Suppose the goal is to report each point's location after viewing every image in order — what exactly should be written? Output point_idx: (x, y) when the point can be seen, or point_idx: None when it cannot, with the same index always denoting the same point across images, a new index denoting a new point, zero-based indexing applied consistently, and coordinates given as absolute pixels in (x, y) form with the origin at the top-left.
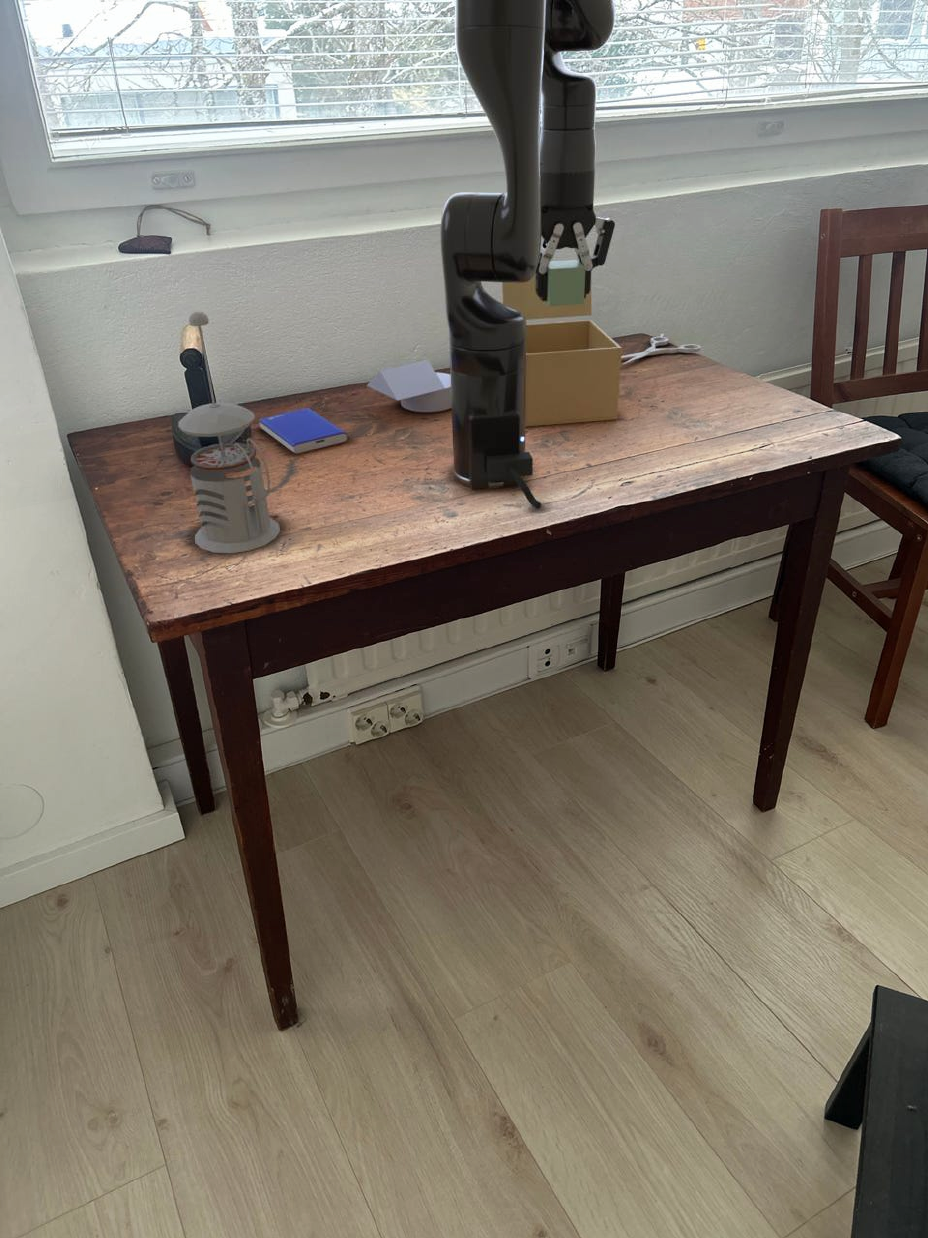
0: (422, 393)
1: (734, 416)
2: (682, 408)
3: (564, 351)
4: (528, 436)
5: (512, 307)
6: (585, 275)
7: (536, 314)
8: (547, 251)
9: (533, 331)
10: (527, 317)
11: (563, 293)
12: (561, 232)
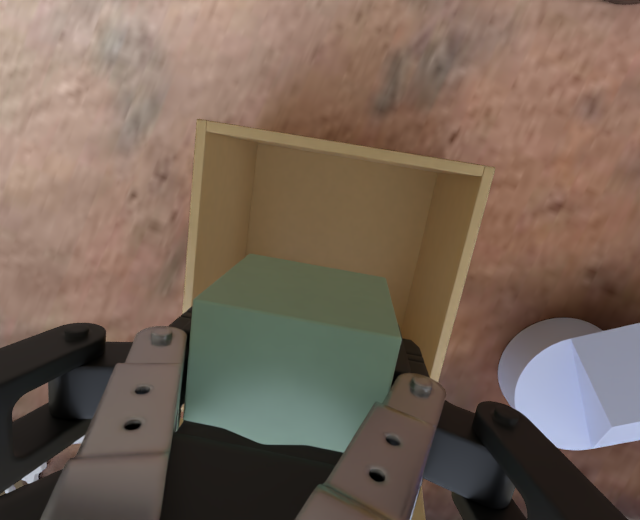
0: (635, 324)
1: (34, 61)
2: (112, 144)
3: (370, 150)
4: (460, 111)
5: None
6: None
7: None
8: (423, 429)
9: None
10: None
11: (328, 279)
12: (310, 510)
